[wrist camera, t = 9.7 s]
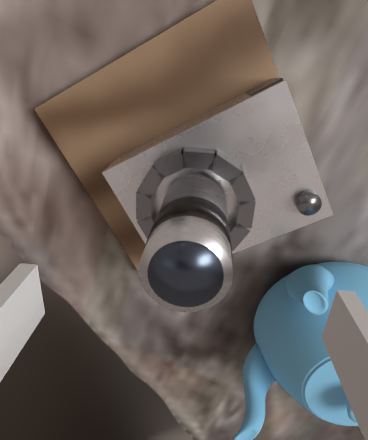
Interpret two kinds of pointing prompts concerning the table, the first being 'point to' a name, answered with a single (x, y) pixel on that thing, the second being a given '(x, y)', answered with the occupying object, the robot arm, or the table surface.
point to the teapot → (299, 344)
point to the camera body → (231, 167)
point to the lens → (189, 247)
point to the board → (156, 97)
